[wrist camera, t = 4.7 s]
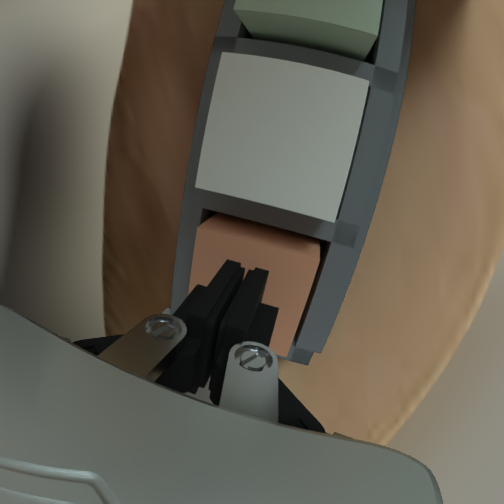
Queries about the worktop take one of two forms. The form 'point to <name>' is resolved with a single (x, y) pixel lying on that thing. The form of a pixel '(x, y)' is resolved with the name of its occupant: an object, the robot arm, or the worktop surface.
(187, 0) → the worktop surface
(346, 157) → the cream button
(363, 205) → the grey long rectangular frame
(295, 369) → the worktop surface
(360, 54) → the sage button
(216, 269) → the terracotta button
